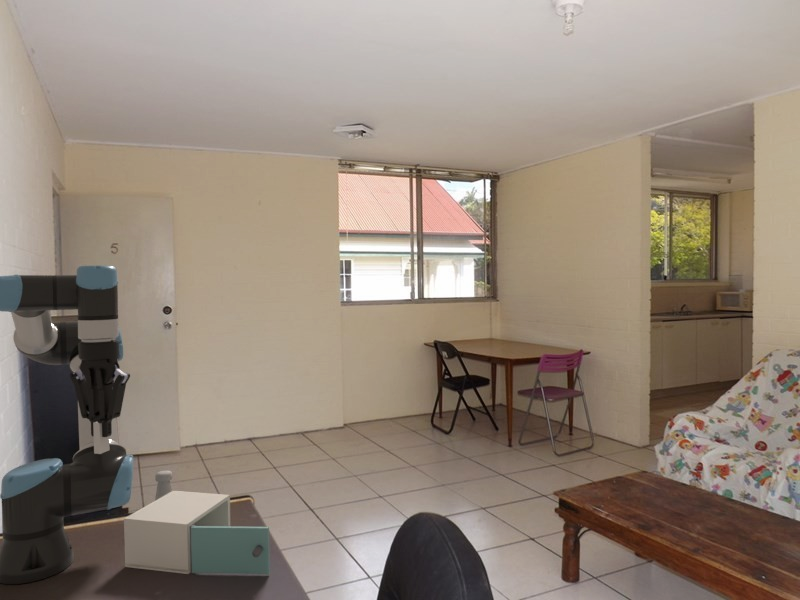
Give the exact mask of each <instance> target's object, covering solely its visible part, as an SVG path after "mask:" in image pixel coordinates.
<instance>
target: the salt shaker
mask: <svg viewBox="0 0 800 600" xmlns="http://www.w3.org/2000/svg"><path fill="white" fill-rule="evenodd" d="M172 479H173V472H172V471H171V470H161V471H158V472H156V474H155V478H154V480H155V481H156V483H157V485H156V491H155V499H154V501H156V500H157V499H159V498H161V497H163V496H165V495H166V494H168V493H170V492H172V491H173V489H172V483H171V480H172Z"/></svg>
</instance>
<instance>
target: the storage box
mask: <svg viewBox="0 0 800 600" xmlns="http://www.w3.org/2000/svg"><path fill="white" fill-rule="evenodd" d="M191 525H195V526H231V495H230V494H222V493H211V492H210V493H209V492H198V491H197V492H195V491H193V492H192V491H183V490H182V491H180V490H172V492H170V493H168V494H166V495H165V496H163V497H161V498H159V499H157V500H156V501H155V500H154V501H152V502H151V503H149V504H147V505H145V506H144V507H142V508H140V509H139V510H137V511H135V512H133V513H131V514H129V515H127V516H126V517H124V518H123V533H124V534H123V536H124V537H123V538H124V563H125V564H124V566H125V568H133V569H141V570H149V571H150V570H151V571H158V572H168V573H176V574H184V575H189V574H190V573H192V572H191V566H190V526H191Z"/></svg>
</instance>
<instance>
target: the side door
mask: <svg viewBox="0 0 800 600" xmlns="http://www.w3.org/2000/svg"><path fill="white" fill-rule="evenodd" d="M270 554H271V553H270V526H242V525H241V526H240V525H239V526H234V525H233V526H195V525H191V526H190V566H191V572H190V573H192V574H233V575H234V574H235V575H236V574H240V575H241V574H243V575H248V574H249V575H270V572H271V568H270V567H271V566H270V564H271V562H270V561H271V560H270V558H271V557H270Z"/></svg>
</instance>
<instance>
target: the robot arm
mask: <svg viewBox="0 0 800 600" xmlns="http://www.w3.org/2000/svg"><path fill="white" fill-rule="evenodd" d="M118 284H119V279H118V272H117V268H116V267H115V266H114V265H79V266H78V267H77V268H76V274H64V275H63V274H62V275H61V274H59V275H58V274H56V275H55V274H53V275H52V274H49V275H43V274H41V275H39V274H37V275H36V274H34V275H31V274H30V275H27V274H26V275H25V274H21V275H20V274H13V275H1V276H0V312H9V313H11V314H10V315H11V317H12V320H13V324H14V327H15V329H14V332H13V337H12V338H13V343H14V346H15V347H16V349H17V350H18V351H19V352H20V354H22V355H23V356H25V357H26V358H28V359H30V360H31V361H35V362H38V363H40V364H44V365H52V366H61V365H62V366H63V365H69V368H70V370H71V371H72V372H70V374H69V378H70V380H71V381H72V383H73V385H74V389H75V393H76V398H77V414H78V416H77V417H78V418H77V419H78V439H79V440H78V441H79V444H78V445H79V450H78V451H76V452H75V453H74V454H73V457H72V462H71V463H66V464H63V463H64V462H63V460H62V459H60V458H58V457H54V458H43V459H38V460H34V461H31V462H27V463H25V464H22V465H19V466H17V467H15V468H12V469H11V470H9V471H8V472H7V473H5V475H4V476H3V477H2V479H1V488H0V491H1V493H0V499H1V517H2V518H1V520H2V523H1V524H2V527H1V528H2V529H1V531H2V541H1V545H0V584H3V585H18V584H26V583H32V582H36V581H40V580H41V581H42V580H43V579H47V578H49V577H52V576H54V575H56V574H58V573H60V572H62V571H64V570H66V569H67V568H69V566H71V565H72V564H73V561H74V548H73V545H72V544H71V543H70V540H69V536H68V534H67V532H66V529H65V526H64V525H65V524H64V518H65V517H70V516H71V517H72V516H77V515H83V514H88V513H94V512H99V511H104V510H108V511H109V510H111V509H114V508H117V507H119V508H120V507H123V506H126V505H127V504H128V503H129V502H130V500H131V496H132V487H133V474H134V455H132V454H127V449H126V447H124V445H122V444H119V432H118V419H117V418H120V417H121V412H122V408H123V403H124V398H125V397H124V396H125V393H126V386H127V383H128V382H129V380H130V378H131V374H130V372H126V373H125V372H124V371H123V370H121V369H120V364H119V362H120V361H122V360H123V358H124V347H123V338H122V333H121V329H120V327H119V301H118V300H119V292H118V289H119V288H118V287H119V286H118ZM59 310H60V311H64V310H66V311H67V310H68V311H69V310H77V320H76V321H53V320H52V315H51V313H52V312H51V311H59Z"/></svg>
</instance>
